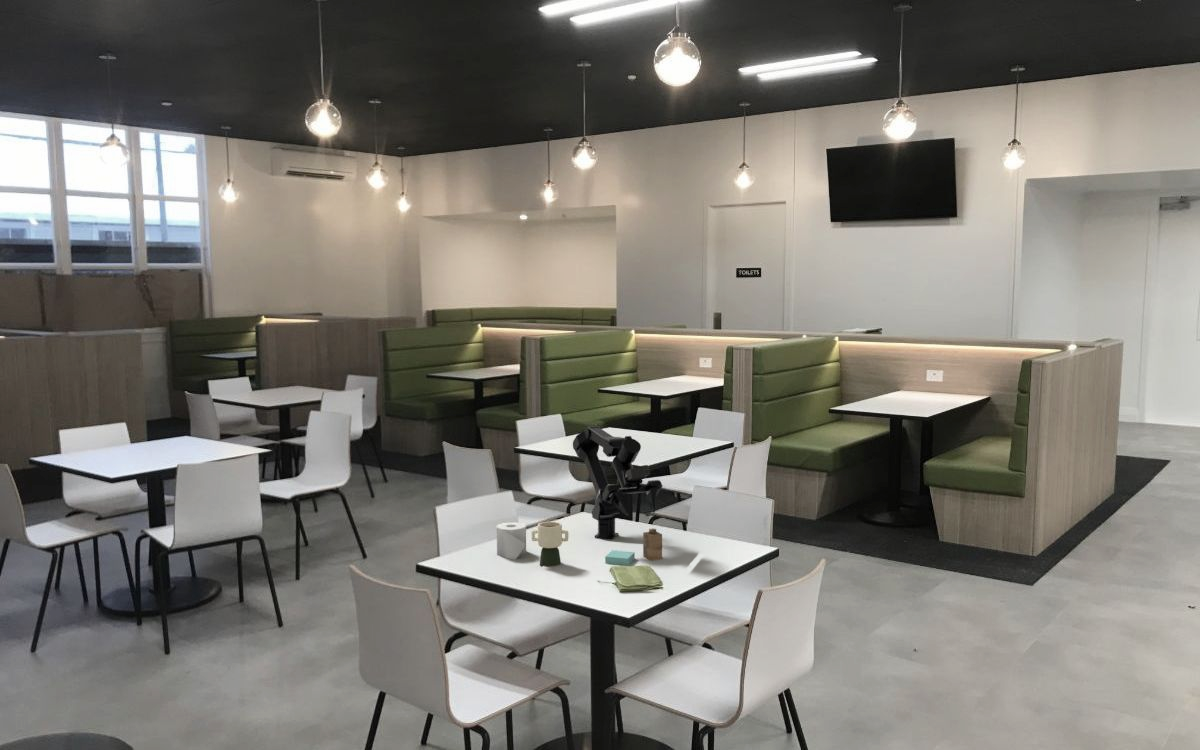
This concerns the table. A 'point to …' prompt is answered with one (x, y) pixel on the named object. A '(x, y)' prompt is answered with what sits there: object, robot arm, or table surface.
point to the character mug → (550, 542)
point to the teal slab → (620, 557)
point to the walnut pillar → (652, 545)
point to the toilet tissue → (511, 540)
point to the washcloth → (635, 578)
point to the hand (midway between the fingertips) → (641, 513)
